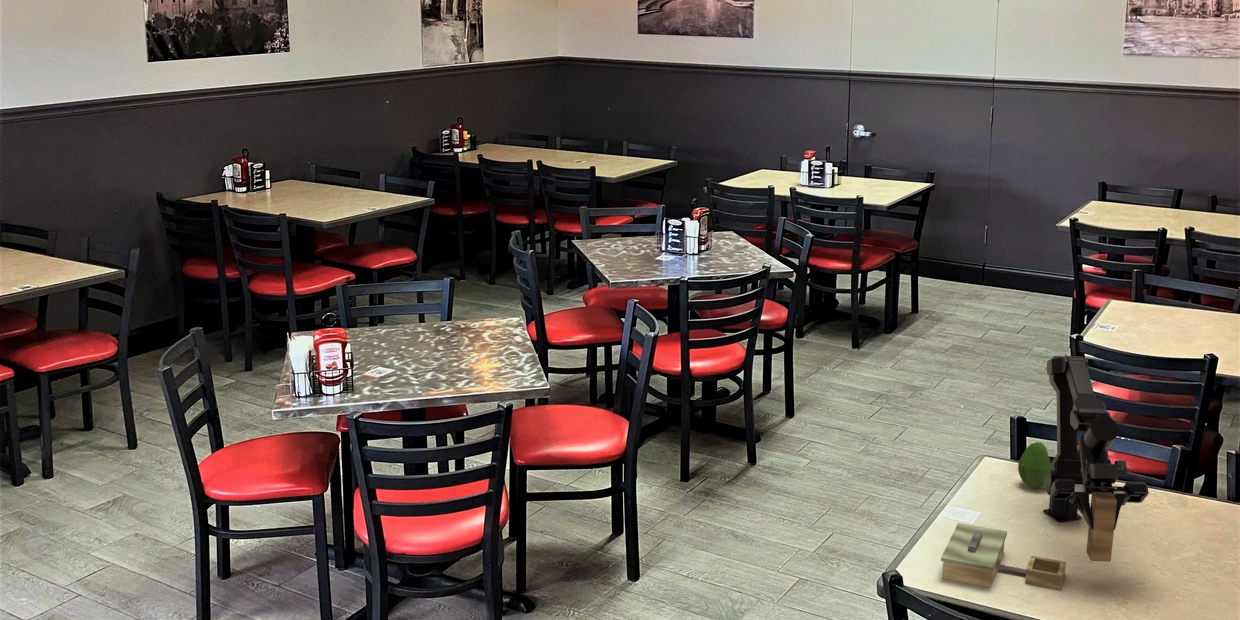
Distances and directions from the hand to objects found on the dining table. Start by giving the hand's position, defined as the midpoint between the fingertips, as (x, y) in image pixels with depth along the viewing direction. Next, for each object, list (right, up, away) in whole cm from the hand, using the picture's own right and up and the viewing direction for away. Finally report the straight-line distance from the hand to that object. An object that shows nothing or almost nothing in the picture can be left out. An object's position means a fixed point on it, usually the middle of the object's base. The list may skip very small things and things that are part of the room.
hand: (1102, 529), depth 239 cm
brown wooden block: (0, -6, +3) cm, 7 cm away
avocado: (+5, +1, +53) cm, 53 cm away
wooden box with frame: (-17, -11, +10) cm, 23 cm away
